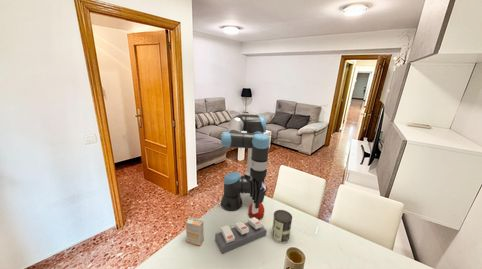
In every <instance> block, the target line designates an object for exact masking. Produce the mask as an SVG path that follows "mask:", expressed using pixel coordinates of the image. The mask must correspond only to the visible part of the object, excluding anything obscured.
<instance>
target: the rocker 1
mask: <svg viewBox="0 0 482 269" xmlns="http://www.w3.org/2000/svg"><path fill="white" fill-rule="evenodd" d="M230 228H231V227H230V225H229V224H228V225H225V226H221V228H220V232H222V234H223V236H224V239H225V241H226V243H229V242H232V241H234V239H235V237H234V235H233V233H232V231H231V229H230Z"/></svg>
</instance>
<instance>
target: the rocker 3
mask: <svg viewBox="0 0 482 269" xmlns="http://www.w3.org/2000/svg"><path fill="white" fill-rule="evenodd" d="M247 222H248V223H249V224H250V225H251V226H253V227H254V228H255V229H258V228H260V227H262V224H263V222H262V221H260V219H256V218H255V217H254V218H252V217H250V218H248V219H247Z"/></svg>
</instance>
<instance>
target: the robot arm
mask: <svg viewBox="0 0 482 269" xmlns="http://www.w3.org/2000/svg"><path fill="white" fill-rule="evenodd" d="M266 132H267V122H266V117H265V116H264V115H261V114H245V113H244V114H243V113H242V114H237V115H235V116H233V117H232V118H231V119H230V120H229V122H228V130H227V131H223V132H222V133H221V136H220V137H221V138H220V144H221V146H222V147H224V148H237V149H238V148H239V149H247V163H246V165H247V166H246V171H245V172H244V175H242V174H241V172H237V171H232V172H228V173H226V174H225V175H224V177H223V195H222V197H221V200H220V206H221V208H222V209H224V210H226V211H228V212H229V211H231V212H235V211H238V210H239V209H241V208H242V207H243V200H242V196H241V194H249V196H250V197H251V200H252V201H251V202H252V203H251V204H252V213H253V214H255V213H258V209H259V203H262V204H263V203H264V199H265V195H266V192H267V191H268V186H265V178H266V177H267V174H268V173H267V172H268V170H267V169H268V164H269V163H268V162H269V158H268V157H269V152H270V150H269V148H270V136H269V135H267V134H266ZM264 133H265V134H264Z"/></svg>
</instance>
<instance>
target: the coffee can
mask: <svg viewBox="0 0 482 269" xmlns="http://www.w3.org/2000/svg"><path fill="white" fill-rule="evenodd" d="M272 221H273V222H272V230H271V237H272V239H273V240H274V241H275V242H277V243H280V244H287V243H288V242H289V241H290V236H291V228H292V223H293V222H292V221H293V215H292V213H290V212H289V211H288V210H285V209H277V210H275V211H274V212H273V220H272Z"/></svg>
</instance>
